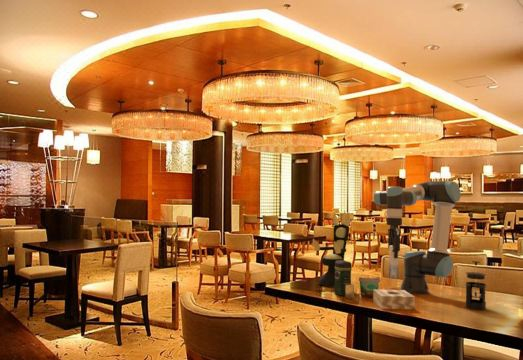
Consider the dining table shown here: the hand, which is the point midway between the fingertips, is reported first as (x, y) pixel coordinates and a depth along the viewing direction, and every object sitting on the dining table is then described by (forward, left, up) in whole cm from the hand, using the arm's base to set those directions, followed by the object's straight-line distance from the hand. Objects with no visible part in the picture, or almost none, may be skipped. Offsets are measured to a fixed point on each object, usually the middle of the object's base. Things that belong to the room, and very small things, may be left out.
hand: (393, 264), depth 228 cm
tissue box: (0, 0, -20) cm, 20 cm away
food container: (+6, -20, -21) cm, 29 cm away
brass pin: (+19, -14, -20) cm, 31 cm away
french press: (-40, +2, -21) cm, 45 cm away
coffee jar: (+21, -23, -21) cm, 37 cm away
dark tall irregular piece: (+21, -51, -21) cm, 59 cm away
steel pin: (0, 0, -7) cm, 7 cm away
